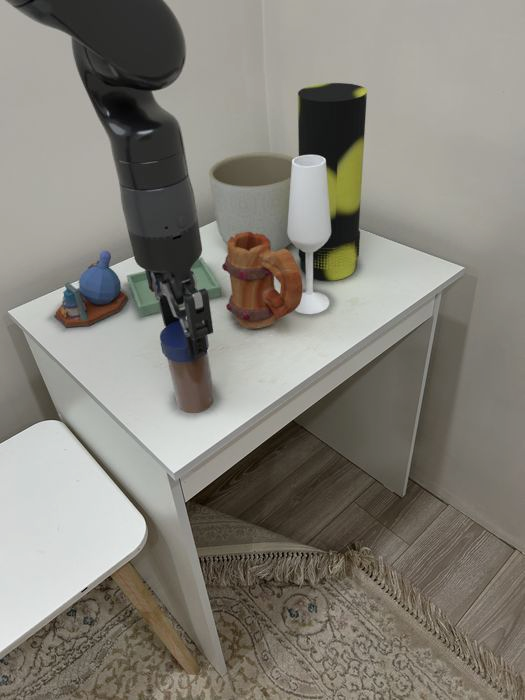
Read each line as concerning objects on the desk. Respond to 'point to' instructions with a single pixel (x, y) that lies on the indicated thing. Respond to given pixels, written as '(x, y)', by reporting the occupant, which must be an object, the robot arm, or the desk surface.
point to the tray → (147, 297)
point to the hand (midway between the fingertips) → (185, 339)
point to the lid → (176, 343)
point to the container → (335, 168)
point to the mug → (261, 280)
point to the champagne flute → (309, 220)
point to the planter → (253, 196)
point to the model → (92, 296)
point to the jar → (192, 384)
